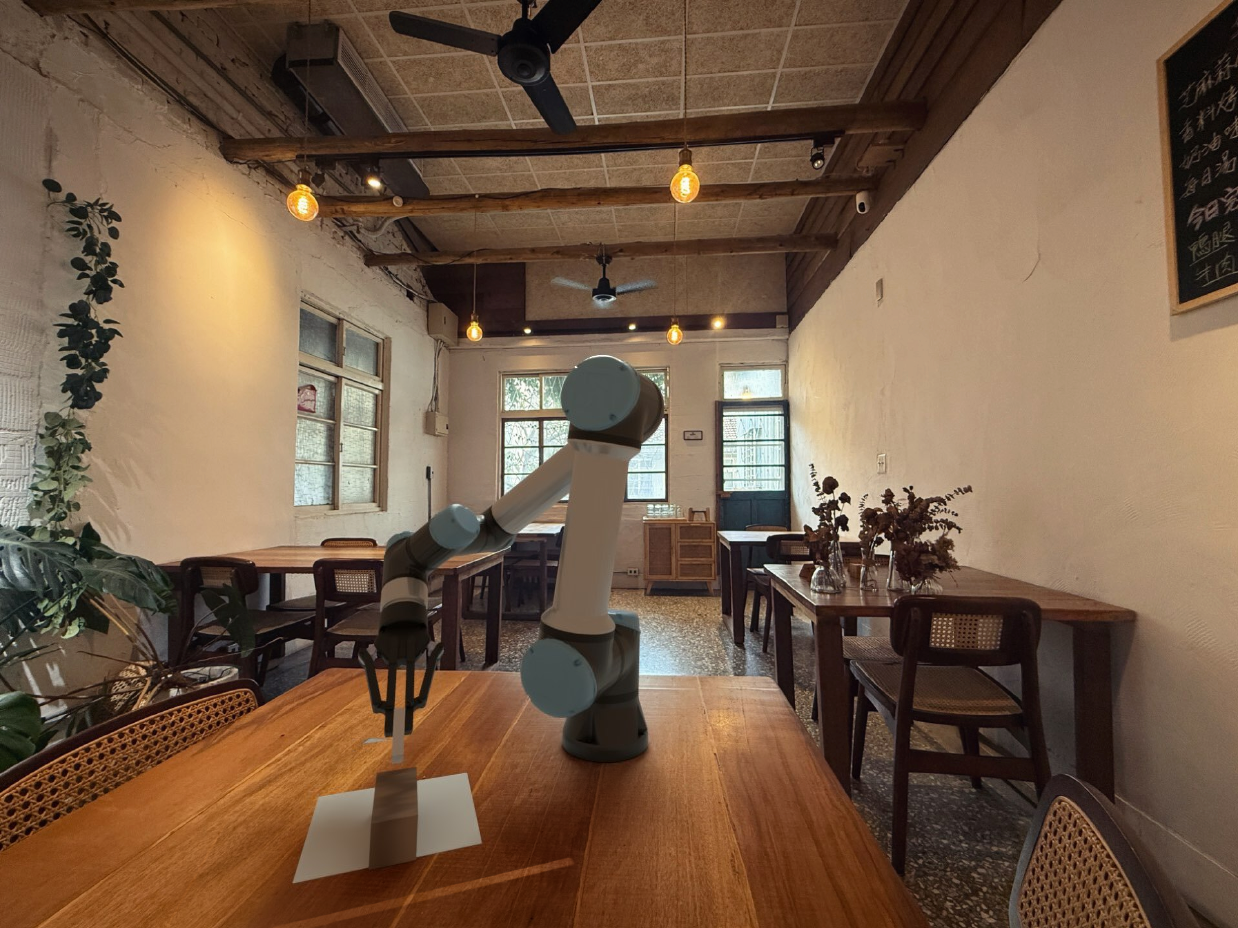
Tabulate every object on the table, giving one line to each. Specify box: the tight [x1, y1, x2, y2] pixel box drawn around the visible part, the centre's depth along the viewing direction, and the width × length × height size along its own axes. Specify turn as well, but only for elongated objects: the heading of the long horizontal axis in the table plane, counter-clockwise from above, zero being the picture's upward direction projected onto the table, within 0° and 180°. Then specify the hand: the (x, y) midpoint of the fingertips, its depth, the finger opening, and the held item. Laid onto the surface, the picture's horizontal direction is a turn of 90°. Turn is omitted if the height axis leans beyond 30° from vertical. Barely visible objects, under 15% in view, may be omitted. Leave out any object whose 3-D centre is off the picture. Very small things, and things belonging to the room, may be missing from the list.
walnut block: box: [368, 766, 418, 871], centre depth 66 cm, size 5×5×12 cm
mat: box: [292, 772, 483, 884], centre depth 70 cm, size 20×18×1 cm
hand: (397, 758), depth 73 cm, fingers closed
